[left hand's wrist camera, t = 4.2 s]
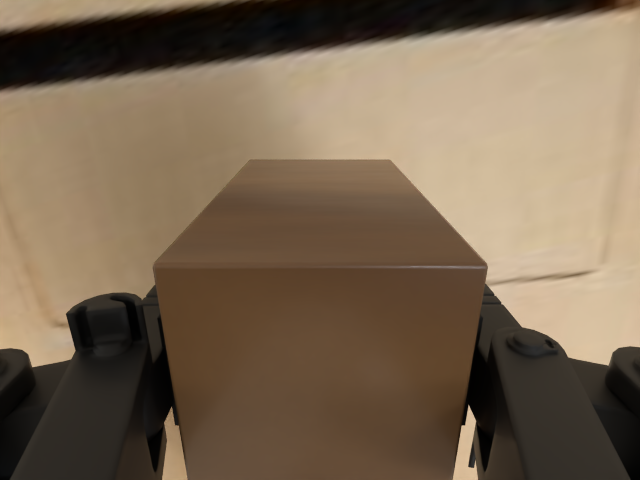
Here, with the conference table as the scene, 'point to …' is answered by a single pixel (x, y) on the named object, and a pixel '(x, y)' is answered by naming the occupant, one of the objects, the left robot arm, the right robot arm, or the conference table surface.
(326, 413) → the bar
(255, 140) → the conference table surface
